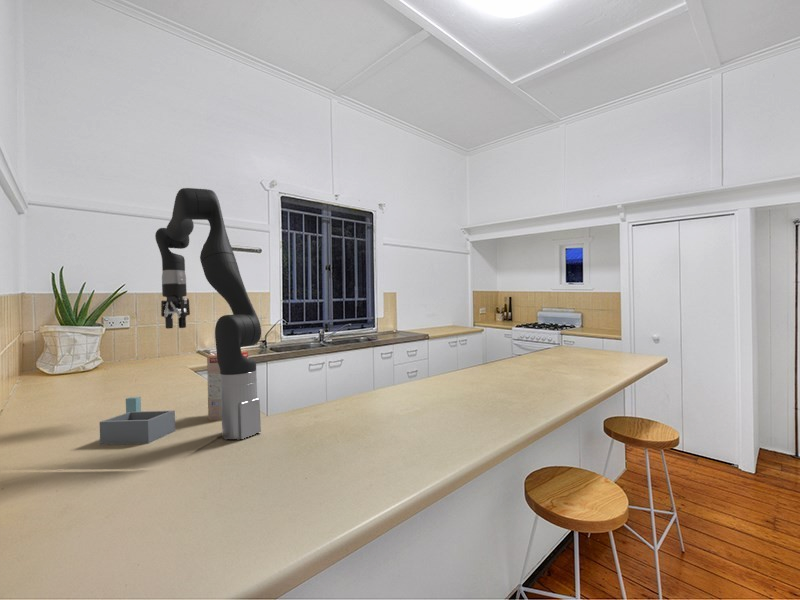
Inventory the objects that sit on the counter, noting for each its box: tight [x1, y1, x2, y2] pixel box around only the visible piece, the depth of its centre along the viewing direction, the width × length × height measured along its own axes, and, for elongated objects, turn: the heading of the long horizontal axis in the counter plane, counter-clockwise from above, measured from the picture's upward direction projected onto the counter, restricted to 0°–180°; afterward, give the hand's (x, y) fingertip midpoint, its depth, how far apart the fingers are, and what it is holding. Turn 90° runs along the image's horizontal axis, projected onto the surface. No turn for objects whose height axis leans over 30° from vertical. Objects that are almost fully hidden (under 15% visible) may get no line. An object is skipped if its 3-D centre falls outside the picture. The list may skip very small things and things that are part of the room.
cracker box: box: [206, 350, 249, 421], centre depth 124 cm, size 14×6×21 cm, turn 168°
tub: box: [99, 410, 176, 445], centre depth 103 cm, size 14×10×6 cm
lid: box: [125, 396, 142, 413], centre depth 120 cm, size 15×11×9 cm
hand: (175, 328), depth 134 cm, fingers open, 8 cm apart
